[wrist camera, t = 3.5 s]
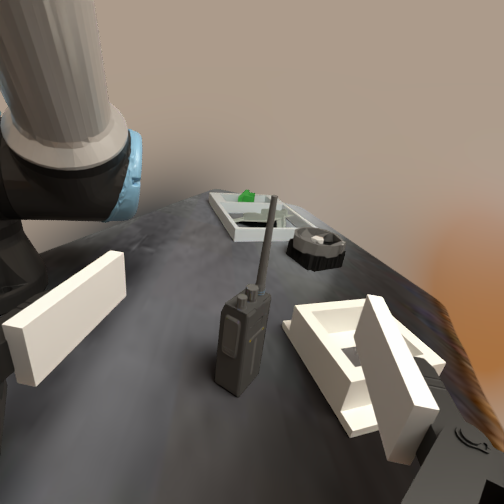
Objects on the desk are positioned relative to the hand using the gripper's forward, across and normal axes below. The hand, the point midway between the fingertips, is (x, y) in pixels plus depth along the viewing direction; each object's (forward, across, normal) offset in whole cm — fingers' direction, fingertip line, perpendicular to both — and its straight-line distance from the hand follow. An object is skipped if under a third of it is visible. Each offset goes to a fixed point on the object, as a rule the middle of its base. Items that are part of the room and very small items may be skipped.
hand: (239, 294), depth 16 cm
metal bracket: (+62, -3, -17) cm, 64 cm away
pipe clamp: (+74, -9, -16) cm, 76 cm away
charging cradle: (+16, +13, -17) cm, 27 cm away
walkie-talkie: (+10, 0, -17) cm, 20 cm away
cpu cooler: (+45, +10, -17) cm, 49 cm away
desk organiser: (+65, -5, -16) cm, 67 cm away
